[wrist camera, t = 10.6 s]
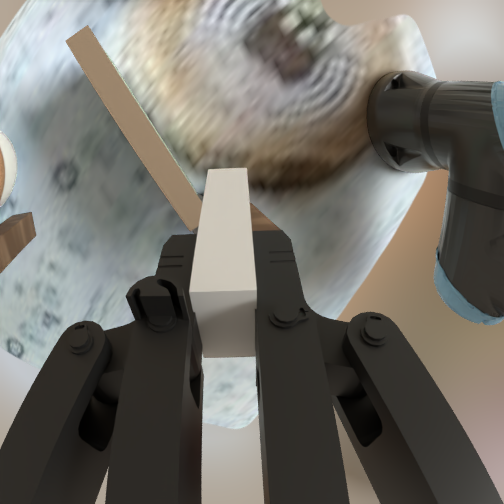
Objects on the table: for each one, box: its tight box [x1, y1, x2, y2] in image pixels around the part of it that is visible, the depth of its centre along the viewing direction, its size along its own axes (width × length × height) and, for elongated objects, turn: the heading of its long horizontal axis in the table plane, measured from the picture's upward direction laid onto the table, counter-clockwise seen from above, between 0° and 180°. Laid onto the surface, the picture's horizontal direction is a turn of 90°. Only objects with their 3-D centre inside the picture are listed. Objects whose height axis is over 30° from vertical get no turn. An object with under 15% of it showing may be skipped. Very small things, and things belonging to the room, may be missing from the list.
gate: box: [66, 25, 204, 234], centre depth 26 cm, size 21×2×12 cm, turn 30°
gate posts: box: [0, 203, 280, 273], centre depth 26 cm, size 28×3×16 cm, turn 91°
